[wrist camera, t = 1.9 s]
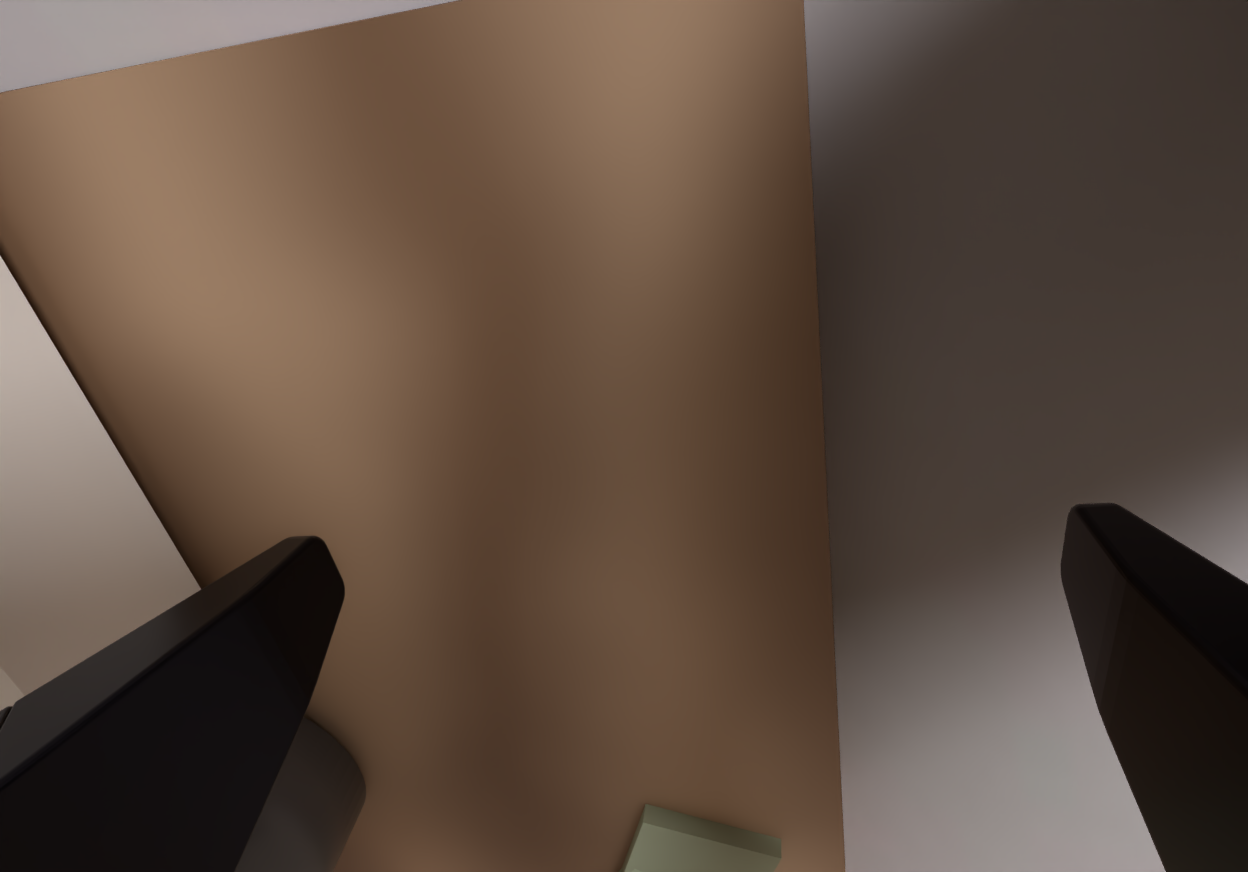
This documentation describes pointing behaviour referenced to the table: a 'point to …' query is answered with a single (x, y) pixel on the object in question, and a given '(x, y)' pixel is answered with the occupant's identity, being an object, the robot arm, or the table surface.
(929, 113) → the table surface
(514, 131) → the cutting board
